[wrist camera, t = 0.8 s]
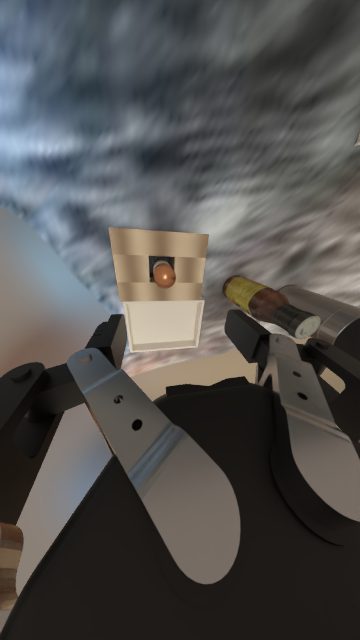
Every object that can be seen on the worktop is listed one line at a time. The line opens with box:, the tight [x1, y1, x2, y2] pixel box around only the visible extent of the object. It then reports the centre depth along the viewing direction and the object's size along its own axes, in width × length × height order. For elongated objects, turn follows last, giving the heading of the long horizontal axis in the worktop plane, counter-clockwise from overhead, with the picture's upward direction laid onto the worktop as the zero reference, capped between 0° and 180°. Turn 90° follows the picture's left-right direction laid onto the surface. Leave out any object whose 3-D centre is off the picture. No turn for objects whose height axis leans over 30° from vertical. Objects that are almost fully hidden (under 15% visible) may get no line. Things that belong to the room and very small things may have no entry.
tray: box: [123, 297, 205, 353], centre depth 37 cm, size 18×14×4 cm
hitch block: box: [108, 227, 209, 302], centre depth 29 cm, size 16×12×6 cm
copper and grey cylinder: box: [152, 257, 176, 289], centre depth 26 cm, size 3×3×12 cm
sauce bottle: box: [224, 276, 320, 339], centre depth 29 cm, size 7×6×20 cm
